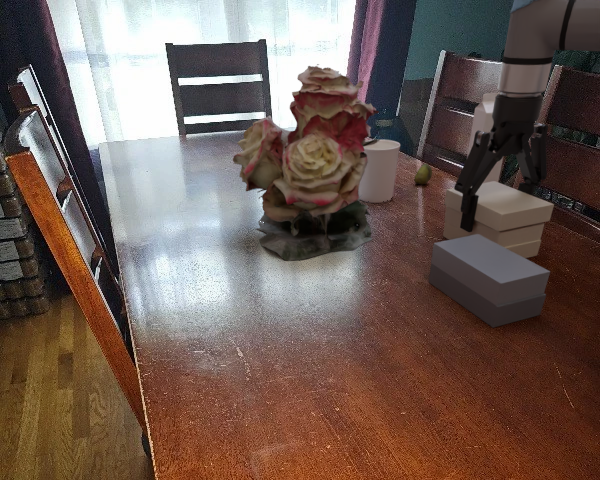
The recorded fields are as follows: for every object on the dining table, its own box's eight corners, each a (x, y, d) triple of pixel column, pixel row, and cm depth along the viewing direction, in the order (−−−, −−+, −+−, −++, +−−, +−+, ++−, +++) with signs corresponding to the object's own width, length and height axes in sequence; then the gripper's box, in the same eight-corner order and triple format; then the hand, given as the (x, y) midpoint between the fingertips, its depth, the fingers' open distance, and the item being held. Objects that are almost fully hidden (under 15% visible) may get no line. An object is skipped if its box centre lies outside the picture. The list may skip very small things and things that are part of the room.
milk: (460, 196, 124) (476, 91, 110) (484, 194, 125) (503, 89, 111) (470, 203, 119) (489, 95, 106) (494, 201, 120) (516, 93, 106)
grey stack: (540, 314, 79) (553, 272, 74) (492, 327, 76) (503, 284, 72) (470, 272, 91) (478, 233, 87) (428, 282, 89) (433, 243, 84)
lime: (413, 186, 131) (416, 166, 128) (412, 181, 134) (415, 161, 131) (431, 187, 130) (434, 166, 127) (430, 181, 134) (432, 161, 131)
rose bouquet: (236, 222, 114) (219, 62, 95) (361, 209, 118) (368, 54, 100) (251, 269, 95) (233, 80, 76) (400, 252, 99) (419, 69, 80)
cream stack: (537, 255, 96) (546, 223, 92) (494, 265, 93) (501, 233, 89) (481, 227, 108) (487, 198, 104) (441, 235, 105) (446, 206, 101)
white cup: (391, 205, 120) (396, 150, 112) (351, 202, 123) (353, 148, 115) (399, 193, 127) (403, 140, 120) (360, 190, 130) (363, 138, 122)
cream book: (549, 221, 92) (554, 204, 90) (498, 231, 89) (502, 214, 87) (491, 196, 104) (494, 180, 102) (444, 204, 100) (446, 189, 98)
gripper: (559, 84, 90) (527, 208, 104) (445, 96, 83) (428, 228, 97) (593, 89, 85) (555, 220, 98) (475, 103, 78) (452, 241, 91)
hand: (492, 224), depth 98 cm, fingers closed on cream book, 11 cm apart
